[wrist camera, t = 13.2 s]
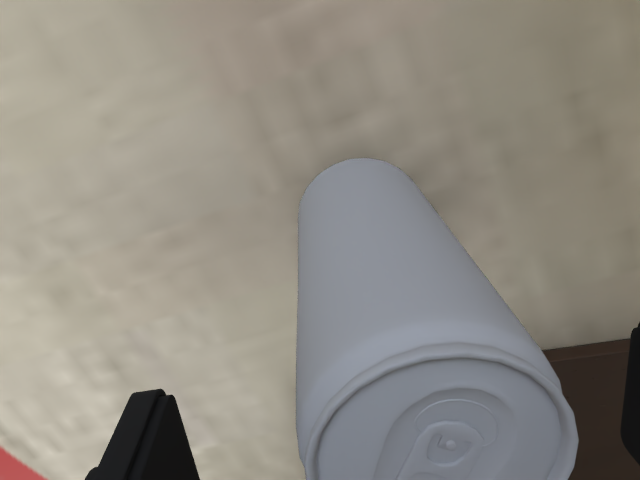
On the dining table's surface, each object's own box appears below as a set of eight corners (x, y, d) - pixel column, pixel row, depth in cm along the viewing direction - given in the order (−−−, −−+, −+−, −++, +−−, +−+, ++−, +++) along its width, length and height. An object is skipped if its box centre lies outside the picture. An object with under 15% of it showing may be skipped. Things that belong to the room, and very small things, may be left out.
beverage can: (440, 175, 19) (645, 386, 8) (393, 284, 21) (506, 582, 10) (319, 136, 18) (354, 308, 7) (280, 253, 20) (260, 538, 9)
